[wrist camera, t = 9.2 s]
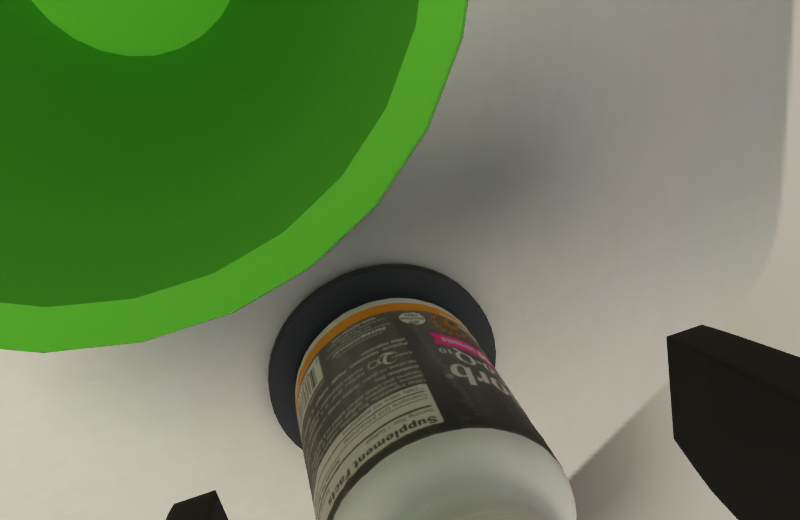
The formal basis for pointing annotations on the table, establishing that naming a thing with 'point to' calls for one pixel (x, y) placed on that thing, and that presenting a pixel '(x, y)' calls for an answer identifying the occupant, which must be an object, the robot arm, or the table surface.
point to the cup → (195, 151)
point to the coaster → (351, 295)
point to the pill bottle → (418, 424)
